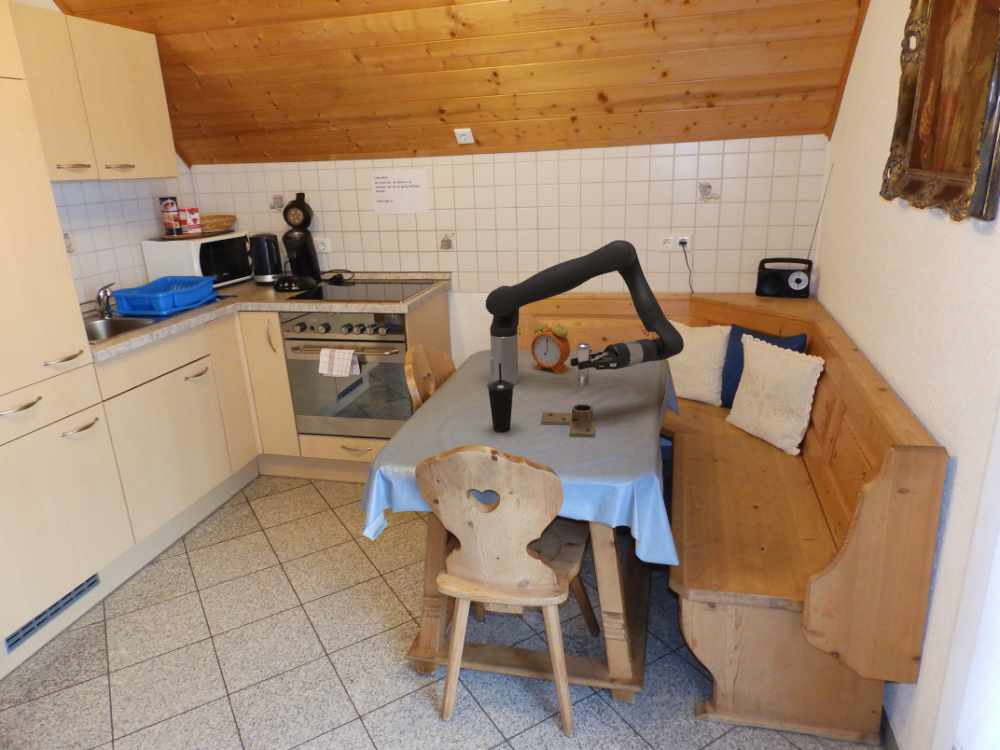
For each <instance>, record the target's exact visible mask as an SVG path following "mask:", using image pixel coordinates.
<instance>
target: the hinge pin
mask: <svg viewBox="0 0 1000 750" xmlns="http://www.w3.org/2000/svg"><path fill="white" fill-rule="evenodd" d="M576 348H577V357H578V362H581V361H586V360H589V350H590V348H591V344H590V343H589V342H578V343H576ZM577 385H578V386H581V387H586V386H587V387H588V386H589V385H590V368H587V369H582V370H579V369H578V368H577Z"/></svg>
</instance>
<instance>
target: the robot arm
mask: <svg viewBox="0 0 1000 750" xmlns="http://www.w3.org/2000/svg"><path fill="white" fill-rule="evenodd" d="M612 272H613V273H614V272H618V274H619V275H620V276H621V278H622V279H623V281H624V283H625V285H626V287H627V289H628V292H629V294H630V297H631V300H632V304H633V305H634V306H633V307H634V309H635V312H636V313H637V315H638V317H639V319H640V321H641V323H642V325H643V327H644V329H645V331H647V332H650V333H652V332H653V333H656V335H657V336H658V337H657V338H653V339H651V338H641V339H638V340H637V339H636V340H627V341H626V340H625V341H622V342H617V343H611V344H608V345H607V346H606V347H605V348H604V350H597V351H595V352H594V351H593V349H589V360H586V361H581V362H578V356H577V357H573V358H571V359H570V366H571V367H577V370H578V369H579V370H582V369H587V368H589V369H591V370H592V369H595V370H596V371H600V370H601V371H602V370H603V371H604V370H613V371H614V370H618V369H619V370H620V369H624V368H629V367H633V366H636V365H639V364H645V363H647V362H659V361H660V362H661V361H665V360H667V359H670V358H672V357H675V356H677V355H679V354H681V353H682V352H683V350H684V346H685V343H684V339H683V337H682V335H681V333H680V332H679V331H678V330H677V328H676V327H675V326H674V324H672V323H671V322H670V321H669V320H668V319H667V317H666V316H665V314H664V311H663V309H662V308H661V305H660V303H659V302H658V300H657V298H656V297H655V295H654V292H653V291H652V289H651V287H650V285H649V282H648V280H647V278H646V277H645V274H644V271H643V268H642V265H641V263H640V258H639V256H638V252H637V250H636V248H635V246H634V244H632V243H631V242H629V241H627V240H620V239H615V240H613V241H611V242H609V243H607V244H604V246H601V247H600V248H597V249H596V250H594V251H591V252H590V253H588V254H585V255H582V256H580V257H576V258H575V257H574V258H571V259H569V260H566V261H562V262H560V263H557V264H555V265H552V266H549V267H547V268H545V269H542V270H540V271H539V272H537V273H535V274H533V275H532V276H529V277H528V278H527V279H525V280H523V281H521V282H519V283H516V284H514V285H511V286H509V285H501V286H499V287H497V288H495V289H493V290H492V291H490V293H489V294H488V295H487V297H486V300H485V308H486V311H487V312H488V313H489V314H490V315H493V316H492V321H491V324H490V327H489V334H490V335H489V336H490V338H489V339H490V357H489V363H490V364H489V366H490V371H489V372H490V383H491V382H493V381H496V380H499V363H501V375H502V380H506V381H509V382H512V383H513V384H514V385H517V384H518V382H519V351H518V350H519V349H518V348H519V345H518V344H519V343H518V326H519V323H520V308H522V307H524V306H527V305H529V304H532V303H536V302H540V301H543V300H547V299H549V298H552V297H556V296H559V295H561V294H564V293H566V292H569V291H572V290H574V289H576V288H577V287H579V286H581V285H583V284H585V283H586V282H588V281H590V280H591V279H593V278H596V277H599V276H602V275H605V274H609V273H612Z"/></svg>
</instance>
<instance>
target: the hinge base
mask: <svg viewBox="0 0 1000 750" xmlns="http://www.w3.org/2000/svg"><path fill="white" fill-rule="evenodd" d="M571 407H572V408H571V412H553V411H552V412H547V411H543V412H542V414H541V418H540V425H556V426H557V425H559V426H560V425H561V426H562V425H564V426H569V437H571V438H595V437H596V434H595V433H596V431H595V429H596V426H595V423H596V422H595V421H593V420H594V406H592V405H589V404H585V403H583V404H581V403H579V404H575V405H573V406H571Z"/></svg>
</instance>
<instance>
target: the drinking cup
mask: <svg viewBox="0 0 1000 750" xmlns="http://www.w3.org/2000/svg"><path fill="white" fill-rule="evenodd" d="M486 388H487V390H488V396H489V397H488V398H489V405H490V411H491V412H490V413H491V420H492V421H491V422H492V427H493V431H494V432H495V433H497V434H498V433H499V434H503V433H507V432H510V431H511V422H512V412H513V411H512V408H513V398H514V397H513V395H514V394H513V393H514V388H515V384H513V383H512V382H509V381H506V380H502V375H501V363H499V380H496V381H493V382H491V381H490V382H489V383H488V384H487V385H486ZM509 430H510V431H509Z"/></svg>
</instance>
